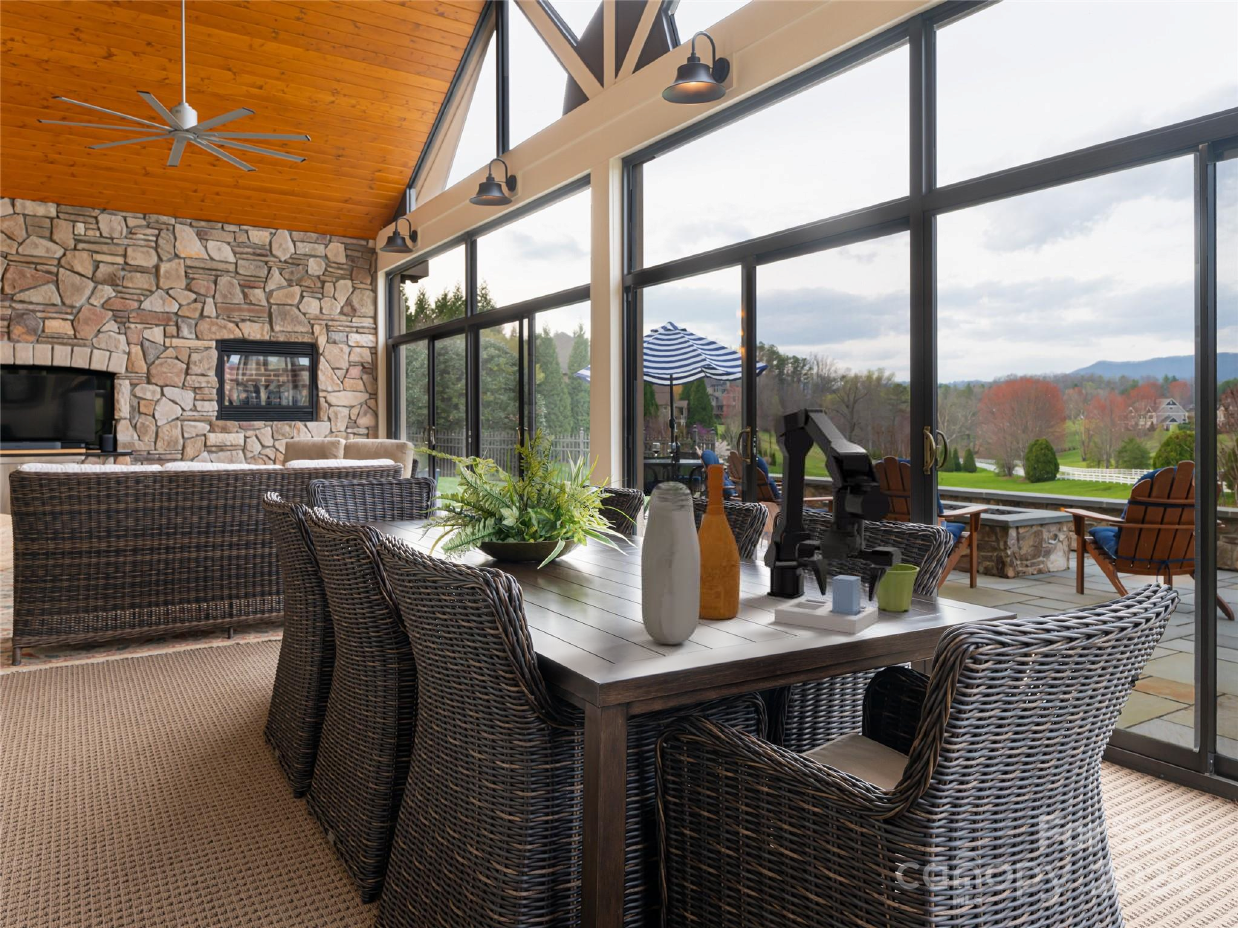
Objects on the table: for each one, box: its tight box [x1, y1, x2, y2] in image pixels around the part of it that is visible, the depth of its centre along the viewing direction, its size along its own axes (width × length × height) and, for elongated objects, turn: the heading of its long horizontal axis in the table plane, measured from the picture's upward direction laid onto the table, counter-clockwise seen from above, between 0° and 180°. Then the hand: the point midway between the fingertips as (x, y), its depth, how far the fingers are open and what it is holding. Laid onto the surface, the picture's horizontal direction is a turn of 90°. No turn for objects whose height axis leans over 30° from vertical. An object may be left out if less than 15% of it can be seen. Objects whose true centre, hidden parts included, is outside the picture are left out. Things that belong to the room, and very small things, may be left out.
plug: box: [832, 574, 862, 616], centre depth 163 cm, size 4×5×9 cm
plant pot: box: [876, 563, 920, 613], centre depth 177 cm, size 9×9×9 cm
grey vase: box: [640, 481, 700, 646], centre depth 149 cm, size 10×10×28 cm
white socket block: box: [774, 598, 879, 634], centre depth 166 cm, size 16×12×3 cm
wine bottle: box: [697, 463, 741, 620], centre depth 170 cm, size 10×10×30 cm
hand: (846, 598), depth 163 cm, fingers open, 9 cm apart
